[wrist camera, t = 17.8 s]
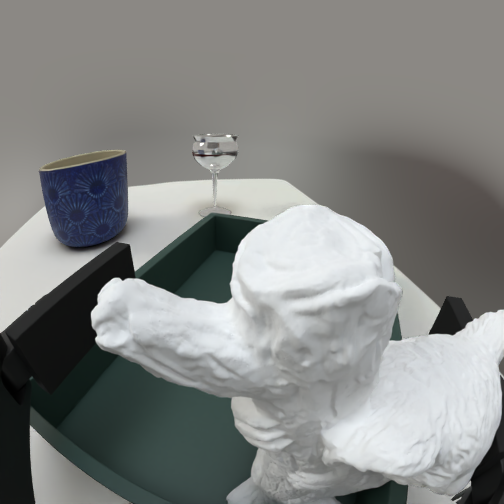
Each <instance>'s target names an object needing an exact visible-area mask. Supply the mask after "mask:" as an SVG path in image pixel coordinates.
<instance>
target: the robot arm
mask: <svg viewBox="0 0 504 504" xmlns="http://www.w3.org/2000/svg"><path fill="white" fill-rule="evenodd" d="M113 278H120V279H121V280H122V281H124V280H125V279H128V278H132V279H136V277H135V271H134V266H133V261H132V255H131V249H130V244H125V243H119V242H116V243H115V244H113V245H112V246H111V247H109V248H108V249H106V250H105V251H104V252H102V253H101V254H99V255H98V256H97V257H95V258H94V259H92V260H91V261H90V262H88V263H87V264H86V265H84V266H83V267H82V268H80V269H79V270H78V271H76V272H75V273H74V274H73V275H71V276H70V277H69V278H67V279H66V280H65V281H64V282H62V283H61V284H60V285H58V286H57V287H56V288H55V289H53V290H52V291H51V292H50V293H49V294H47V295H45V296H43V297H42V298H41V299H40V300H38V301H37V302H36V303H35V305H32V306H31V307H30V308H29V309H28V311H25V312H24V313H23V314H22V315H21V316H20V317H19V318H17V319H16V320H15V321H14V322H13V323H12V324H11V325H10V326H9V327H7V328H6V329H5V330H4V331H3V332H2V333H0V504H35V498H34V491H33V484H32V474H31V461H30V407H31V393H32V383H31V381H30V378H31V377H32V376H33V378H34V379H35V381H36V382H37V383H38V385H39V386H40V387H41V388H42V389H44V390H45V391H46V392H48V393H49V394H50V395H52V394H53V392H54V391H55V390H56V389H57V388H58V386H59V385H60V384H61V383H62V382H63V380H64V379H65V378H66V377H67V376H68V375H69V373H70V372H71V371H72V370H73V369H74V368H75V366H76V365H77V364H78V363H79V362H80V361H81V360H82V358H83V357H84V356H85V355H86V354H87V353H88V352H89V350H90V349H91V348H92V347H93V346H94V345H95V344H96V340H95V338H96V337H97V333H96V331H95V330H94V329H93V328H92V320H91V312H92V310H93V309H94V308H95V306H97V305H98V301H97V299H98V294H99V293H100V291H101V289H102V288H103V287H104V286H105V285H106V284H107V283H108V282H109V281H111V280H112V279H113ZM472 321H473V319H472V317H471V315H470V313H469V311H468V310H467V308H466V306H465V304H464V302H463V300H462V299H461V298H456V297H449V296H447V297H446V299H445V301H444V303H443V306H442V308H441V310H440V312H439V314H438V316H437V318H436V320H435V322H434V324H433V326H432V328H431V330H430V332H429V334H428V335H431V334H449V335H452V336H453V335H455V334H456V333H457V332H459V331H462V329H465V327H466V325H467V323H468V322H472ZM500 383H501V390H502V415H501V421H500V424H499V427H498V429H497V430H496V433H495V436H494V439H493V442H492V444H491V447H490V448H489V450H488V452H487V453H486V455H485V456H484V457H483V459H482V461H481V463H480V464H479V465H478V466H477V467H476V469H475V471H474V473H473V475H472V477H471V479H470V481H471V486H470V487H469V488H467V489H465V490H463V491H461V492H460V493H458V494H456V495H455V496H454V497H453V498H452V499H451V500H452V501H454V500H456V499H458V498H460V497H462V498H461V499H460V500H458V501H457V502H456V503H457V504H504V379H503V378H502V377H501V375H500Z"/></svg>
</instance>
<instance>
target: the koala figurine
mask: <svg viewBox="0 0 504 504" xmlns="http://www.w3.org/2000/svg"><path fill="white" fill-rule="evenodd" d="M230 287H231V294H232V296H233V297H232V298H231V299H230V300H229V301H228V302H226V303H222V304H220V303H219V304H218V303H214V302H209V301H198V300H196V299H193V298H181V297H179V296H177V295H175V294H173V293H171V292H168V291H166V290H165V289H162V288H159V287H156V286H153V285H150V284H148V283H146V282H145V281H144V280H141V279H137V278H136V279H132V278H128V279H125V280H124V281H122V280H121V279H120V278H113V279H112V280H111V281H109V282H108V283H107V284H106V285H105V286H104V287H103V288H102V289H101V291H100V293H99V294H98V299H97V301H98V305H97V306H95V308H94V309H93V310H92V312H91V320H92V328H93V329H94V330H95V331H96V333H97V337H96V338H95V340H96V343H97V345H98V346H99V347H100V348H101V349H102V350H104V351H108V352H111V353H113V354H118V355H120V356H122V357H123V358H125V359H127V360H129V361H130V362H134V363H137V364H140V365H141V366H142V367H143V368H144V369H145V370H146V371H148V372H149V373H151V374H153V375H154V376H155V377H157V378H160V377H162V378H163V379H165V380H166V381H168V382H172V383H175V384H177V385H182V386H186V387H193V388H196V389H198V390H201V391H203V392H206V393H208V394H213V395H216V396H218V397H228V398H232V400H231V409H232V411H233V416H234V417H235V419H234V421H235V427H236V428H237V429H238V430H239V432H240V433H241V434H242V435H243V436H244V438H245V439H246V440H247V441H248V442H249V443H250V444H252V445H254V446H256V447H258V450H257V454H256V458H255V460H254V462H253V465H252V469H251V477H250V478H249V479H247V481H245V482H243V483H242V484H240V485H239V486H238V487H236V488H235V489H234V490H233V491H231V492H230V493H229V494H228V496H227V497H226V500H227V501H228V504H341V503H340V502H339V501H337V500H336V498H335V497H334V496H341V495H342V496H344V495H347V494H350V493H355V492H357V491H362V490H365V489H370V488H377V487H380V486H382V485H384V484H385V483H387V482H388V481H390V480H394V481H395V482H397V483H398V484H401V485H413V486H418V487H427V488H428V489H430V490H431V491H432V492H434V493H437V494H446V495H448V496H453V495H455V494H457V493H459V492H460V491H461V490H462V489H463V488H465V486H466V485H467V484H468V482H469V481H470V479H471V477H472V475H473V473H474V471H475V469H476V467H477V466H478V465H479V464H480V463H481V461H482V459H483V457H484V456H485V455H486V453H487V452H488V450H489V448H490V447H491V444H492V442H493V439H494V436H495V433H496V430H497V429H498V427H499V424H500V421H501V415H502V390H501V383H500V373H499V368H498V365H499V363H500V361H501V360H502V358H503V357H504V310H498V312H496V313H492V312H489V313H485V314H484V315H481V316H480V318H479V319H476V318H475V319H474V320H473V321H472V322H468V323H467V325H466V327H465V329H462V331H459V332H457V333H456V334H455V335H453V336H452V335H449V334H431V335H422V336H418V337H412V338H406V339H402V340H401V341H394V340H392V341H389V340H390V338H391V335H392V327H393V324H394V320H395V317H396V314H397V312H398V307H399V304H400V300H401V297H402V294H403V291H402V289H401V287H400V286H399V285H398V284H397V283H395V273H394V268H393V260H392V256H391V254H390V252H389V250H388V248H387V247H386V245H385V244H384V243H383V241H382V240H380V239H379V238H378V237H377V236H375V235H374V234H373V233H372V232H371V231H370V230H369V229H367V228H366V227H365V226H363V225H361V224H358V223H357V222H355V221H354V220H352V219H350V218H349V217H346V216H342V215H339V214H337V213H335V212H333V211H331V210H330V209H329V208H327V207H324V206H320V205H316V204H308V205H298V206H294V207H291V208H289V209H288V210H286V211H284V212H282V213H281V214H279V215H277V216H276V217H274V218H273V219H271V220H269V221H267V222H265V223H264V224H260V225H258V226H257V227H255V228H254V229H253V230H252V231H251V232H249V233H248V234H247V235H246V237H245V238H244V239H242V240H241V243H240V245H239V246H238V251H237V252H236V255H235V261H234V262H233V273H232V279H231V282H230Z"/></svg>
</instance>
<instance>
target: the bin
mask: <svg viewBox="0 0 504 504" xmlns="http://www.w3.org/2000/svg"><path fill="white" fill-rule="evenodd" d="M265 222H267V220H261V219H254V218H248V217H241V216H234V215H227V214H220V213H213V212H211V213H210V214H209V215H207V216H206V217H204V218H203V219H202V220H200V221H199V222H198V223H196V224H195V225H194V226H193V227H191V228H190V229H189V230H187V231H186V232H185V233H183V234H182V235H181V236H179V237H178V238H177V239H176V240H174V241H173V242H172V243H170V244H169V245H168V246H167V247H165V248H164V249H163V250H162V251H160V252H159V253H158V254H157V255H155V256H154V257H153V258H152V259H150V260H149V261H148V262H147V263H145V264H144V265H143V266H142V267H140V268H139V269H138V270H137V271H136V272H135V277H136V278H137V279H141V280H144V281H145V282H146V283H148V284H150V285H153V286H156V287H159V288H162V289H165V290H166V291H168V292H171V293H173V294H175V295H177V296H179V297H181V298H193V299H196V300H198V301H209V302H214V303H218V304H219V303H220V304H222V303H226V302H228V301H229V300H230V299H231V298H232V297H233V296H232V294H231V287H230V282H231V279H232V273H233V262H234V261H235V255H236V252H237V251H238V246H239V245H240V243H241V240H242V239H244V238H245V237H246V235H247V234H248V233H249V232H251V231H252V230H253V229H254V228H255V227H257V226H258V225H260V224H264V223H265ZM392 340H394V341H401V340H402V337H401V330H400V324H399V318H398V313H397V314H396V317H395V320H394V324H393V327H392V335H391V338H390V340H389V341H392ZM30 381H31V383H32V393H31V407H30V425H31V426H32V427H33V428H34V429H35V430H36V431H37V432H38V433H39V434H40V435H41V436H42V437H43V438H44V439H45V440H46V441H47V442H48V443H50V444H51V445H52V446H53V447H54V448H55V449H56V450H57V451H59V452H60V453H61V454H62V455H63V456H65V457H66V458H67V459H68V460H69V461H71V462H72V463H73V464H74V465H76V466H77V467H78V468H80V469H81V470H82V471H84V472H85V473H86V474H88V475H89V476H90V477H92V478H93V479H95V480H96V481H98V482H99V483H101V484H102V485H104V486H105V487H107V488H108V489H110V490H111V491H113V492H114V493H116V494H118V495H119V496H121V497H123V498H124V499H126V500H128V501H129V502H131V503H133V504H228V501H227V500H226V497H227V496H228V494H229V493H230V492H231V491H233V490H234V489H235V488H236V487H238V486H239V485H240V484H242V483H243V482H245V481H247V479H249V478H250V477H251V469H252V465H253V462H254V460H255V458H256V454H257V450H258V447H256V446H254V445H252V444H250V443H249V442H248V441H247V440H246V439H245V438H244V436H243V435H242V434H241V433H240V432H239V430H238V429H237V428H236V427H235V421H234V419H235V417H234V416H233V411H232V409H231V400H232V398H228V397H218V396H216V395H213V394H208V393H206V392H203V391H201V390H198V389H196V388H193V387H186V386H182V385H177V384H175V383H172V382H168V381H166V380H165V379H163V378H162V377H160V378H157V377H155V376H154V375H153V374H151V373H149V372H148V371H146V370H145V369H144V368H143V367H142V366H141V365H140V364H137V363H134V362H130V361H129V360H127V359H125V358H123V357H122V356H120V355H118V354H113V353H111V352H108V351H104V350H102V349H101V348H100V347H99V346H98V345H97V343H96V344H95V345H94V346H93V347H92V348H91V349H90V350H89V352H88V353H87V354H86V355H85V356H84V357H83V358H82V360H81V361H80V362H79V363H78V364H77V365H76V366H75V368H74V369H73V370H72V371H71V372H70V373H69V375H68V376H67V377H66V378H65V379H64V380H63V382H62V383H61V384H60V385H59V386H58V388H57V389H56V390H55V391H54V392H53V394H52V395H50V394H49V393H48V392H46V391H45V390H44V389H42V388H41V387H40V386H39V385H38V383H37V382H36V381H35V379H34V378H33V376H32V377H31V378H30ZM407 492H408V485H401V484H398V483H397V482H395V481H394V480H390V481H388V482H387V483H385V484H384V485H382V486H380V487H377V488H370V489H365V490H362V491H357V492H355V493H350V494H347V495H344V496H342V495H341V496H334V497H335V498H336V500H337V501H339V502H340V503H341V504H406V502H407Z"/></svg>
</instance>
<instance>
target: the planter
mask: <svg viewBox="0 0 504 504" xmlns="http://www.w3.org/2000/svg"><path fill="white" fill-rule="evenodd" d="M39 173H40V179H41V186H42V191H43V196H44V200H45V206H46V210H47V214H48V218H49V221H50V224H51V227H52V230H53V232H54V234H55V236H56V238H57V239H58V240H59V241H60V242H61V243H63V244H65V245H67V246H71V247H86V246H92V245H96V244H99V243H102V242H105V241H107V240H109V239H111V238H113V237H114V236H116V235H117V234H118V233H120V232H121V230H122V229H123V228H124V226H125V225H126V222H127V218H128V186H127V162H126V151H124V150H108V151H107V150H106V151H98V152H91V153H86V154H80V155H76V156H72V157H68V158H64V159H60V160H57V161H54V162H52V163H49V164H46V165H44V166H42V167H41V168H40V169H39Z"/></svg>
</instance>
